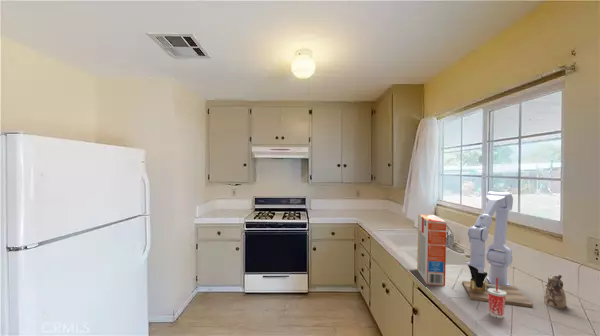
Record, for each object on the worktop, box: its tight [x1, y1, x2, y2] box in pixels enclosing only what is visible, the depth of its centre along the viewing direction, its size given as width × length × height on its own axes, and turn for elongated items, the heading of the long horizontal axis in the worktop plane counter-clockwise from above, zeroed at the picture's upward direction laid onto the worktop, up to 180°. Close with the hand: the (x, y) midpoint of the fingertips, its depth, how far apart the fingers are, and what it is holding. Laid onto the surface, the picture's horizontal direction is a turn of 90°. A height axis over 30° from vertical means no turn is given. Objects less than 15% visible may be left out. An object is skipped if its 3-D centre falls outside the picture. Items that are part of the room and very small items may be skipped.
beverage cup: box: [487, 278, 506, 319], centre depth 117 cm, size 6×6×14 cm
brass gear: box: [469, 277, 486, 292], centre depth 140 cm, size 6×6×4 cm
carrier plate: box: [461, 280, 534, 308], centre depth 138 cm, size 20×22×5 cm
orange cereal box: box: [416, 213, 447, 287], centre depth 159 cm, size 23×8×30 cm, turn 170°
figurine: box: [543, 274, 567, 309], centre depth 128 cm, size 7×7×12 cm
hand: (477, 284), depth 140 cm, fingers open, 7 cm apart
